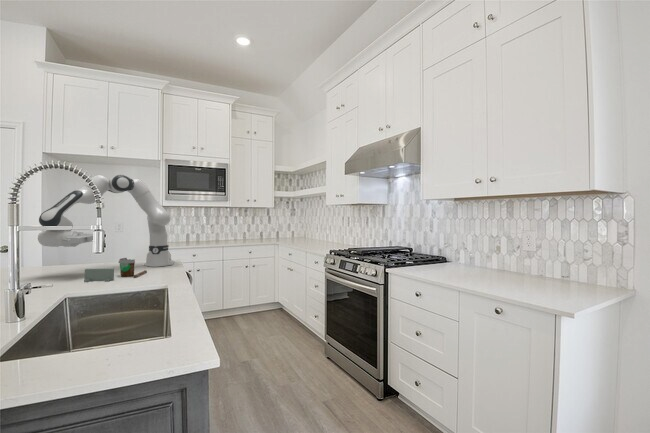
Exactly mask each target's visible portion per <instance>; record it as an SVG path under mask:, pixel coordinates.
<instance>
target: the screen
mask: <svg viewBox="0 0 650 433" xmlns="http://www.w3.org/2000/svg"><path fill="white" fill-rule="evenodd" d="M110 281H115V268H84V283H89V282H104V283H105V282H106V283H107V282H110Z"/></svg>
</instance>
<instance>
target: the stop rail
mask: <svg viewBox="0 0 650 433" xmlns="http://www.w3.org/2000/svg"><path fill="white" fill-rule="evenodd" d="M147 272H148V271H147V270H142V271H140V272H139V273H136V274H134V276H133V279H137V278H139V277H141V276H143V275H145V274H147Z"/></svg>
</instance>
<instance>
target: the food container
mask: <svg viewBox="0 0 650 433" xmlns="http://www.w3.org/2000/svg"><path fill="white" fill-rule="evenodd" d="M118 264H119V270H120V271H119V272H120V277H123V278H127V277H128V278H129V277H130V278H131V277H134V275H135V265H136V259H134V258H133V259H128V258H127V257H123V258H119V260H118Z"/></svg>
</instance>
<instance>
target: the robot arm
mask: <svg viewBox="0 0 650 433" xmlns="http://www.w3.org/2000/svg"><path fill="white" fill-rule="evenodd" d="M90 179H92V180H93V182H94V183H95V185H96V186H97V188H98V189H99V191H100V193H101V197H102V196H103V195H104V194H105V193H106V192H110V193H112V194H113V193H114V194H122V193H124V192H128V193H130V195H131V196H132V198H133V199H134V201H135V202H136V203H137V205H138V206H139V207H140V209H141V210H142V211H143V212H145V214H146V215H147V216H146V220H147V225H148V233H149V245H148V252H147V253H146V261H145V263H144V264H143V266H146V267H151V268H153V267H154V268H155V267H166V266H173V265H174V264H175V260H172V254H171V252H170V251H169V247H170V246H169V244H168V232H167V229H166V228H167V227H166V225H168V224H169V223H170V221H171V214H170V213H169V212H168V211H167V210H166V209H165V207H164V206H162V204H161V203H160V201H158V200H157V198H155V195H153V193H152V191H151V190H150V188H149V187H148V186H147V185H146V183H144V182H143V181H142V180H141V179H140V178H133V179H132V178H130V177H129V176H127V175H124V174H118V175H114V176H112V177H110V178H108V177H106V176H104V175H102V174H98V175H97V174H96V175H95V176H93V177H91V178H90ZM96 202H97V201H95V196H94V194H93V191H92V189H91V187H90V186H89V184H88V183H87V182H85V183H84V184H83V185H82V186H81V187H80V188H78V189H77V190H76V189H75V190H73V191H71V192H70V193H68V194H67V195H65V196H64V197H63V198H61V199H60V200H59V201H57V203H56V204H54V205H53V206H51V207H50V208H47V209H46V210H45V211H43V212H41V214H40V215H39V217H38V222H39V224H40V225H41V226H42V227H44V226H72V227H73V222H72V221H71V220H70V219H68V218H67V217H66V216H64V214H65V213H66V212H68V211H69V209H71V208H72V207H74V205H77V204H80V203H81V204H85V205H91V204H94V203H96ZM45 230H46V229H45ZM92 240H93V233H84V232H80V231H79V232H78V231H73V230H72V229H71V230H46V231H44V230H43V231H41V232H39V233H38V235H37V241H38V243H39V244H40V245H41V246H43V247H52V248H53V247H55V248H57V247H58V248H59V247H64V248H67V247H68V248H70V247H71V248H72V247H73V248H74V247H77V246H79V245H81V244H86V243H90V242H93V241H92Z"/></svg>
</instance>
